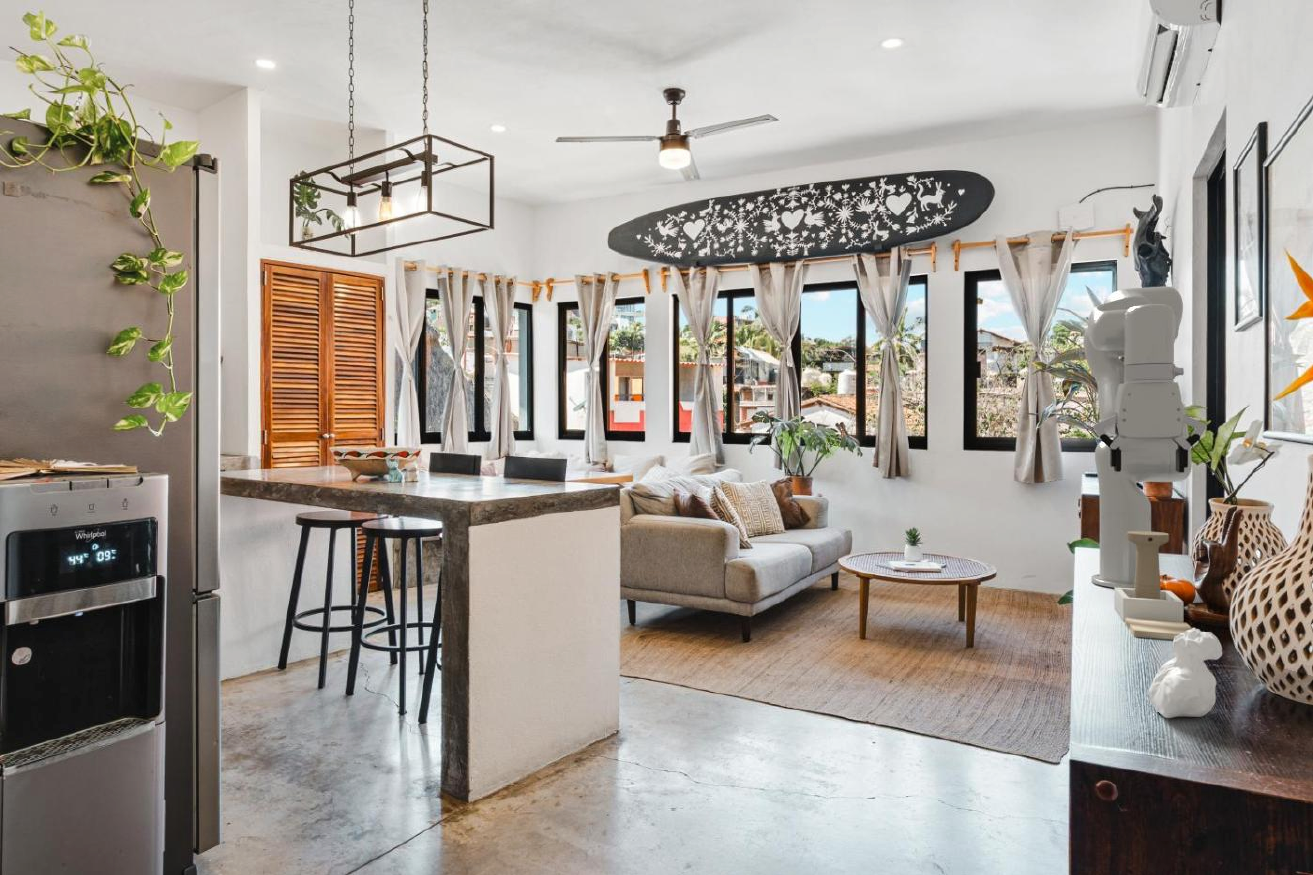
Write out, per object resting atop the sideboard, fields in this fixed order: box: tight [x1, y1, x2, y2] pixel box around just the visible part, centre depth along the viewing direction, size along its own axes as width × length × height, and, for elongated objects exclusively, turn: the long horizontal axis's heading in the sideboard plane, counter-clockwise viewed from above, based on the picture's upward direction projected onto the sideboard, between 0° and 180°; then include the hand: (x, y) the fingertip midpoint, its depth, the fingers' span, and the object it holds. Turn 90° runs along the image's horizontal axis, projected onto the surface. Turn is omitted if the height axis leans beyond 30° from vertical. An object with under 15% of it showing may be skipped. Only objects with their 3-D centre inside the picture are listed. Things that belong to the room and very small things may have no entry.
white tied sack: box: [1147, 627, 1223, 719], centre depth 97 cm, size 12×8×11 cm
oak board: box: [1124, 618, 1193, 641], centre depth 134 cm, size 9×9×1 cm
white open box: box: [1113, 587, 1184, 622], centre depth 145 cm, size 10×9×4 cm
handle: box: [1127, 531, 1170, 600], centre depth 145 cm, size 5×6×15 cm
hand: (1148, 471), depth 144 cm, fingers open, 9 cm apart
